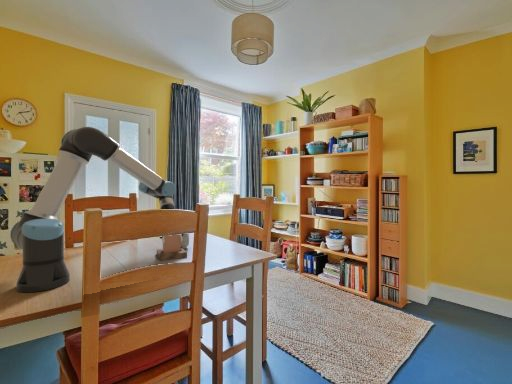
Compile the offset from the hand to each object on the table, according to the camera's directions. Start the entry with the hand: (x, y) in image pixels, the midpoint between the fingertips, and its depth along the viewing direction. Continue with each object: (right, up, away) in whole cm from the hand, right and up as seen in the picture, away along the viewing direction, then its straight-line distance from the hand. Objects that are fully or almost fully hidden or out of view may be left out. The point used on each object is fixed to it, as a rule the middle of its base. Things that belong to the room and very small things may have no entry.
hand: (172, 242), depth 131 cm
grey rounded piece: (-2, -7, +19) cm, 20 cm away
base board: (-2, -8, +3) cm, 8 cm away
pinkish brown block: (-2, -6, +3) cm, 7 cm away
